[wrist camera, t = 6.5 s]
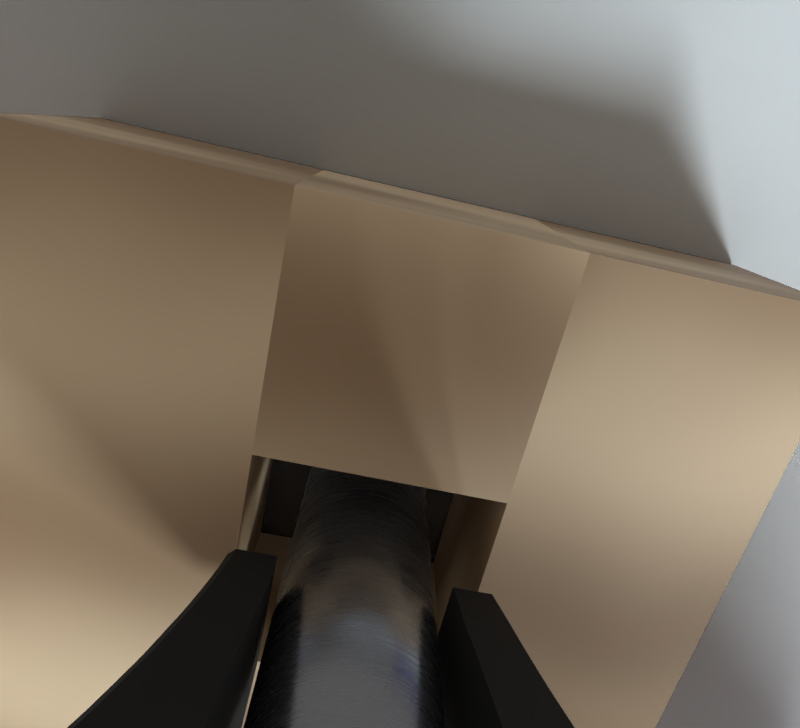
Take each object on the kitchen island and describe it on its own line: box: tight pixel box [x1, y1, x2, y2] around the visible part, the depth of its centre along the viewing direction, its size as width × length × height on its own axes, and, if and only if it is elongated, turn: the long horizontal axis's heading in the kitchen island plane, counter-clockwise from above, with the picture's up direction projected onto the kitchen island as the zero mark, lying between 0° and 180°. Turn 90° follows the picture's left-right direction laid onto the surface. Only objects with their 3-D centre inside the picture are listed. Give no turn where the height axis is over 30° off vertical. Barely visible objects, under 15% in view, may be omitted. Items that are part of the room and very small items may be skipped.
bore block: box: [0, 113, 800, 728], centre depth 12 cm, size 12×12×4 cm
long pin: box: [244, 466, 445, 728], centre depth 9 cm, size 2×2×8 cm
